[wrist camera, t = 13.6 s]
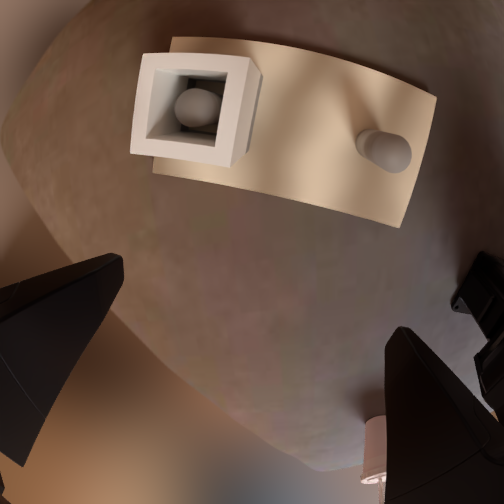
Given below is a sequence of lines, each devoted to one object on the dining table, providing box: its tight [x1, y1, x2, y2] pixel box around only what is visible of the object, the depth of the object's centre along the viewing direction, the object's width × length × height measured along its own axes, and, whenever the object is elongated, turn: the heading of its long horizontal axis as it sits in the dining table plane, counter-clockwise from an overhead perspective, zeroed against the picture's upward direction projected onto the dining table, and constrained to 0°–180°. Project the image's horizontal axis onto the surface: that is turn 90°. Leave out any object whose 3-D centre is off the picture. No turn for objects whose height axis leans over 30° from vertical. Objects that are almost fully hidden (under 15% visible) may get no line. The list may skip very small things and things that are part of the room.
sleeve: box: [130, 53, 263, 168], centre depth 13 cm, size 5×5×6 cm
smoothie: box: [360, 415, 387, 504], centre depth 26 cm, size 6×6×14 cm
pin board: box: [153, 37, 437, 228], centre depth 14 cm, size 18×10×6 cm, turn 80°
